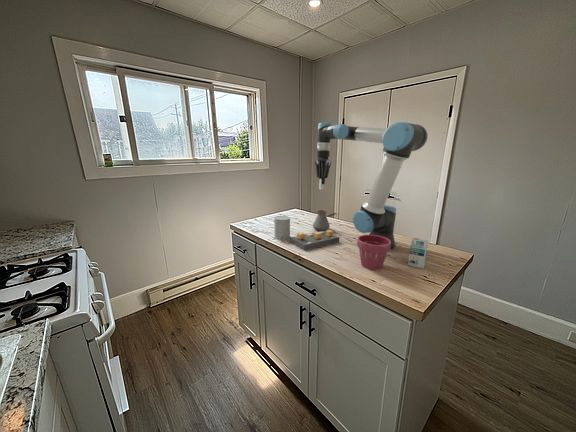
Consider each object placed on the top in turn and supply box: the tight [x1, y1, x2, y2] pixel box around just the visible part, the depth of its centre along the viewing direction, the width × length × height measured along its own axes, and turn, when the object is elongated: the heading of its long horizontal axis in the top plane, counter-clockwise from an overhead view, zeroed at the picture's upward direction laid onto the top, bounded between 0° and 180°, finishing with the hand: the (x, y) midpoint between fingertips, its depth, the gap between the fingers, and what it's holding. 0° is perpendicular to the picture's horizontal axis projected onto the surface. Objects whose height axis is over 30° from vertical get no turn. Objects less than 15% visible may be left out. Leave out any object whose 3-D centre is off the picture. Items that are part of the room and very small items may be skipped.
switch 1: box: [296, 231, 306, 239], centre depth 133 cm, size 3×3×3 cm
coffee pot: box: [312, 209, 339, 232], centre depth 154 cm, size 21×12×15 cm, turn 26°
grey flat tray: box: [289, 230, 340, 251], centre depth 137 cm, size 14×25×3 cm, turn 122°
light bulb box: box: [407, 237, 429, 269], centre depth 111 cm, size 11×7×11 cm, turn 148°
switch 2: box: [313, 231, 321, 239], centre depth 134 cm, size 3×3×3 cm
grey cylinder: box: [273, 215, 291, 241], centre depth 143 cm, size 10×10×12 cm
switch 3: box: [325, 229, 334, 237], centre depth 138 cm, size 3×3×3 cm
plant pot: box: [356, 234, 391, 271], centre depth 107 cm, size 14×14×13 cm
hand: (321, 189), depth 148 cm, fingers closed
